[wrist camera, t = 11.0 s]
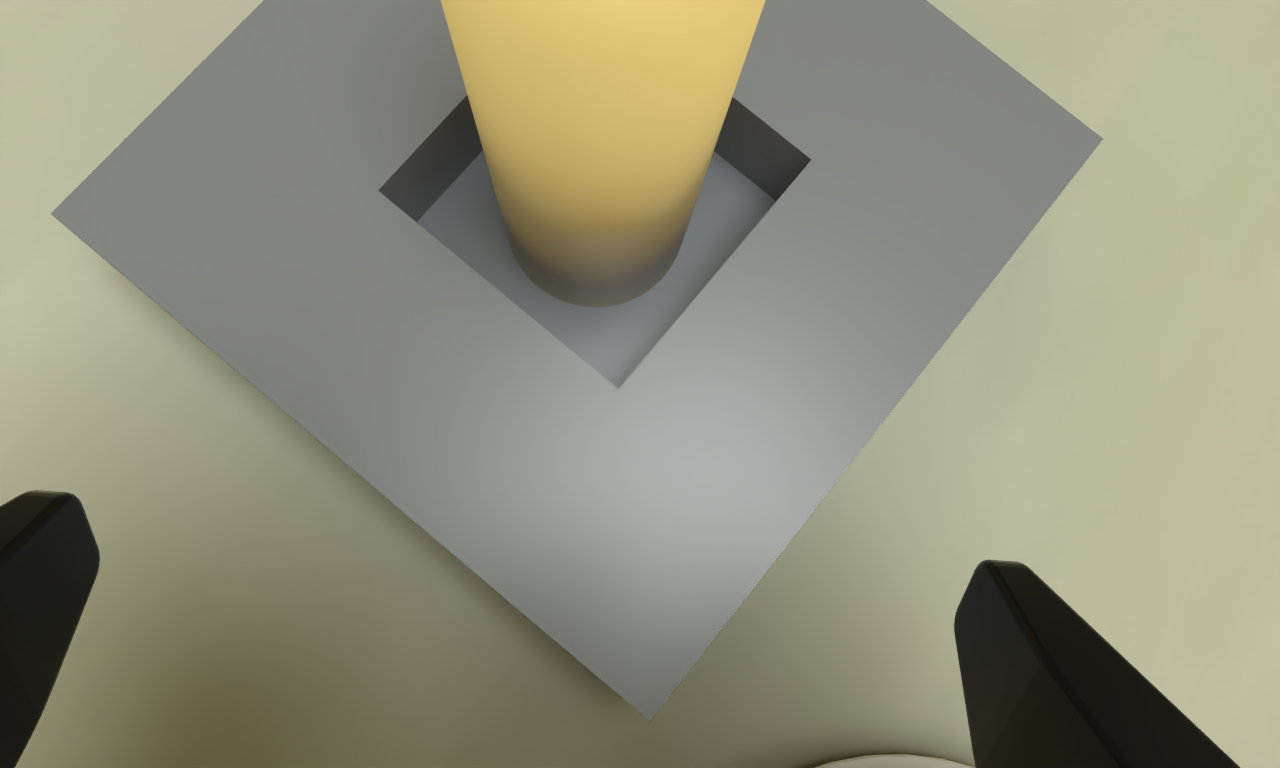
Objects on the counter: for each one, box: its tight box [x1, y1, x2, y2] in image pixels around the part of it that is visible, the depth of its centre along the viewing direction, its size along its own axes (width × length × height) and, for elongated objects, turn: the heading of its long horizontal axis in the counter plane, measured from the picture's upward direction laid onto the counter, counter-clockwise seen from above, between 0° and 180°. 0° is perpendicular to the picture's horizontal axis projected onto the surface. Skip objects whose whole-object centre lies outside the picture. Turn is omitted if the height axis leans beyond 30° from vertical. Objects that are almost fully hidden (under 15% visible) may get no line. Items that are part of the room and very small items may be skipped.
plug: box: [441, 0, 765, 307], centre depth 17 cm, size 4×4×12 cm
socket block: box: [51, 0, 1103, 721], centre depth 22 cm, size 16×16×4 cm
